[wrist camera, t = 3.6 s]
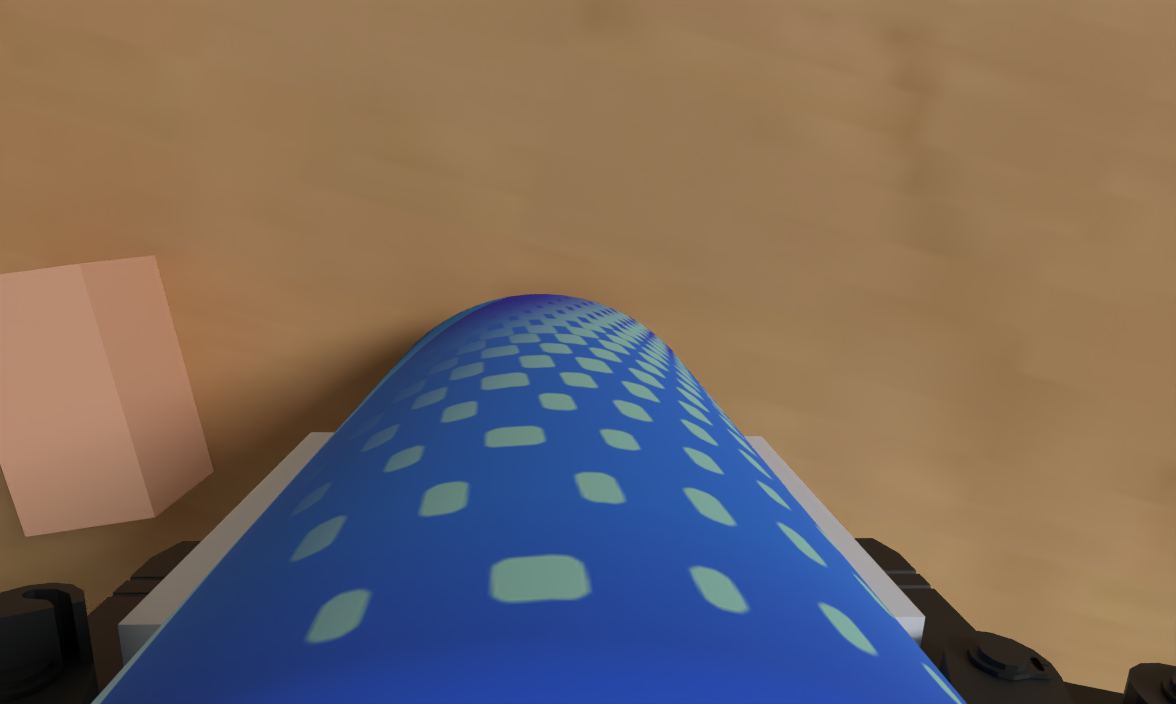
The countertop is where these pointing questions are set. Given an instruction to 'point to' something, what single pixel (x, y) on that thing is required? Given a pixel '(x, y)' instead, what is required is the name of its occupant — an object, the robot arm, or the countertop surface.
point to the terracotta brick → (94, 397)
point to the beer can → (533, 547)
